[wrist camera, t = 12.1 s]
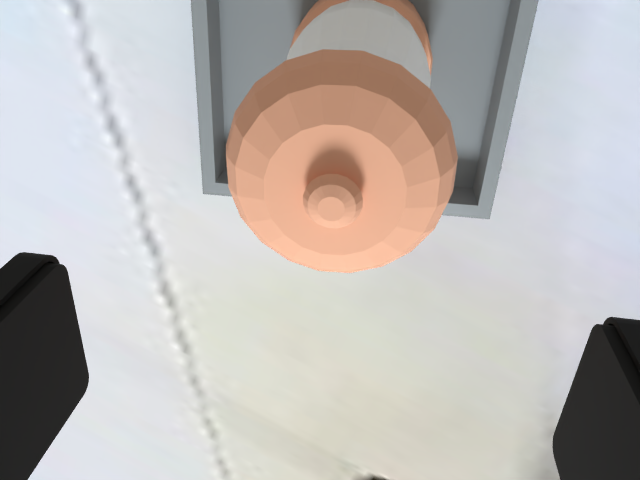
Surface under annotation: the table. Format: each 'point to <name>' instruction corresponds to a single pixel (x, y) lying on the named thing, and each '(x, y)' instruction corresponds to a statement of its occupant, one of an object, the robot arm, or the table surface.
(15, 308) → the robot arm
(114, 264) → the table surface
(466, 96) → the tray
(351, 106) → the pepper shaker
